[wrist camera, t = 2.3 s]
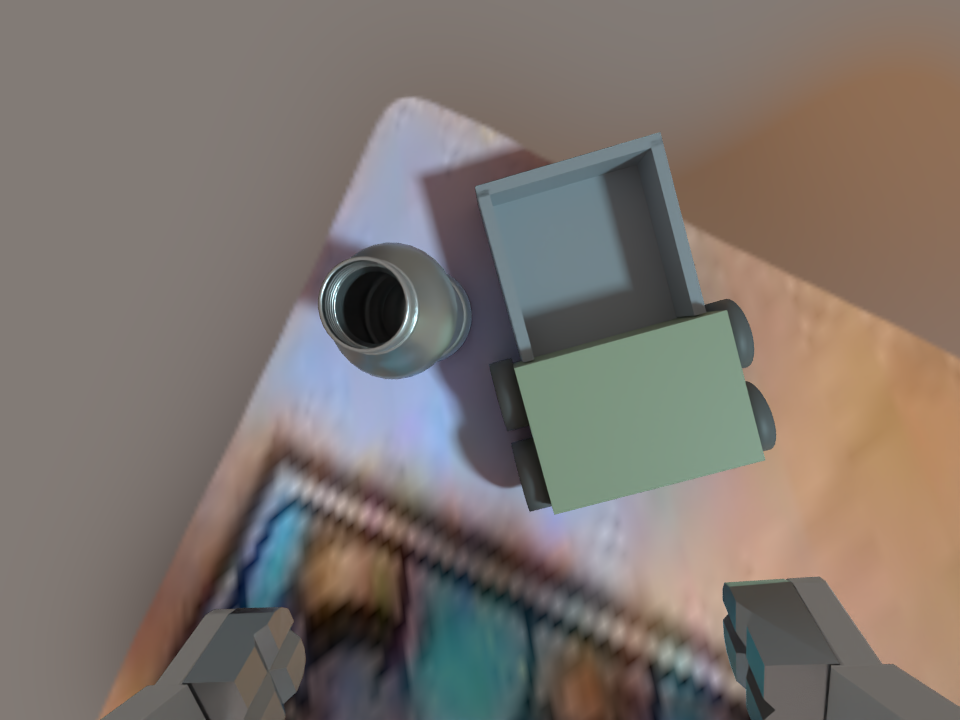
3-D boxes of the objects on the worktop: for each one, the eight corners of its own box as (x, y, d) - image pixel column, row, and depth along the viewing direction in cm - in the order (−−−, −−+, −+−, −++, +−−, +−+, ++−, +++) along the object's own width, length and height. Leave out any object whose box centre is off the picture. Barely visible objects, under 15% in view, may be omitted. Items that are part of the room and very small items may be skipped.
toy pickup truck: (747, 441, 39) (791, 461, 33) (527, 498, 40) (532, 527, 34) (671, 146, 38) (703, 112, 32) (448, 211, 39) (439, 190, 33)
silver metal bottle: (469, 269, 39) (440, 206, 19) (476, 358, 40) (454, 386, 20) (385, 276, 40) (271, 221, 20) (393, 364, 40) (288, 398, 20)
